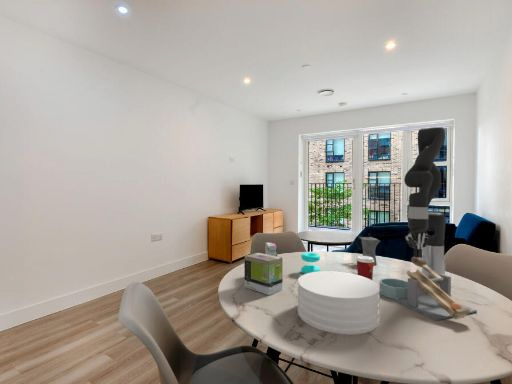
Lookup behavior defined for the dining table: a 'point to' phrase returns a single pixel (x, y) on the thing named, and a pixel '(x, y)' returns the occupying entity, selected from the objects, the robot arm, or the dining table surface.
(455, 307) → the ball
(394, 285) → the bowl
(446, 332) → the dining table surface
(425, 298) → the stand
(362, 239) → the coffeepot
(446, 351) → the dining table surface
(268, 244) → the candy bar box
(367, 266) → the paper cup
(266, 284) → the tea box
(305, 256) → the donuts
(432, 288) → the lever
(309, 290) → the plate stack
